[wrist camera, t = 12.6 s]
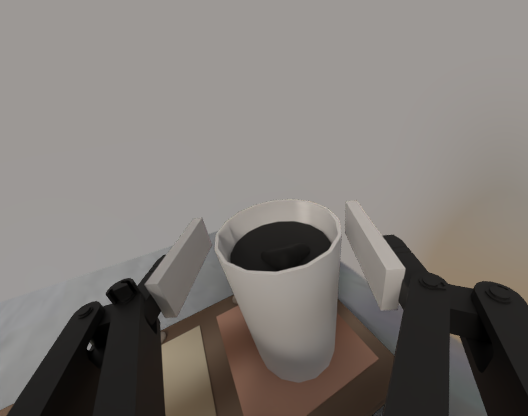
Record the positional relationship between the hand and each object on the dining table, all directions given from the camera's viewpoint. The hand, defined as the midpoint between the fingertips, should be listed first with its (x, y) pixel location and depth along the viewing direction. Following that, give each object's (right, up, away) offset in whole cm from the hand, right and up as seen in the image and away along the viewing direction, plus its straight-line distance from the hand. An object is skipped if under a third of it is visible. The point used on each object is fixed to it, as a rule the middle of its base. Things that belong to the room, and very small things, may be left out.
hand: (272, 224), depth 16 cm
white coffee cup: (+2, -9, 0) cm, 9 cm away
